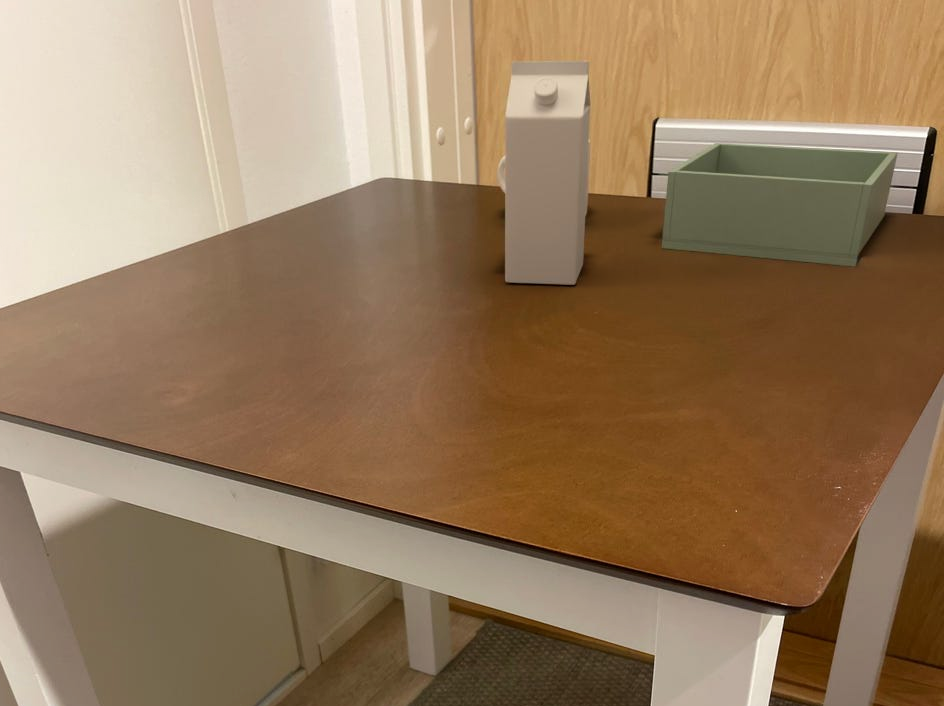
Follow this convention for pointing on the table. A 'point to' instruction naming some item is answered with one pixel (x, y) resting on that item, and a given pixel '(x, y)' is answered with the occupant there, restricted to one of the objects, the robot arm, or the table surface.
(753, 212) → the open box
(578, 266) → the milk carton
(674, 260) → the table surface
